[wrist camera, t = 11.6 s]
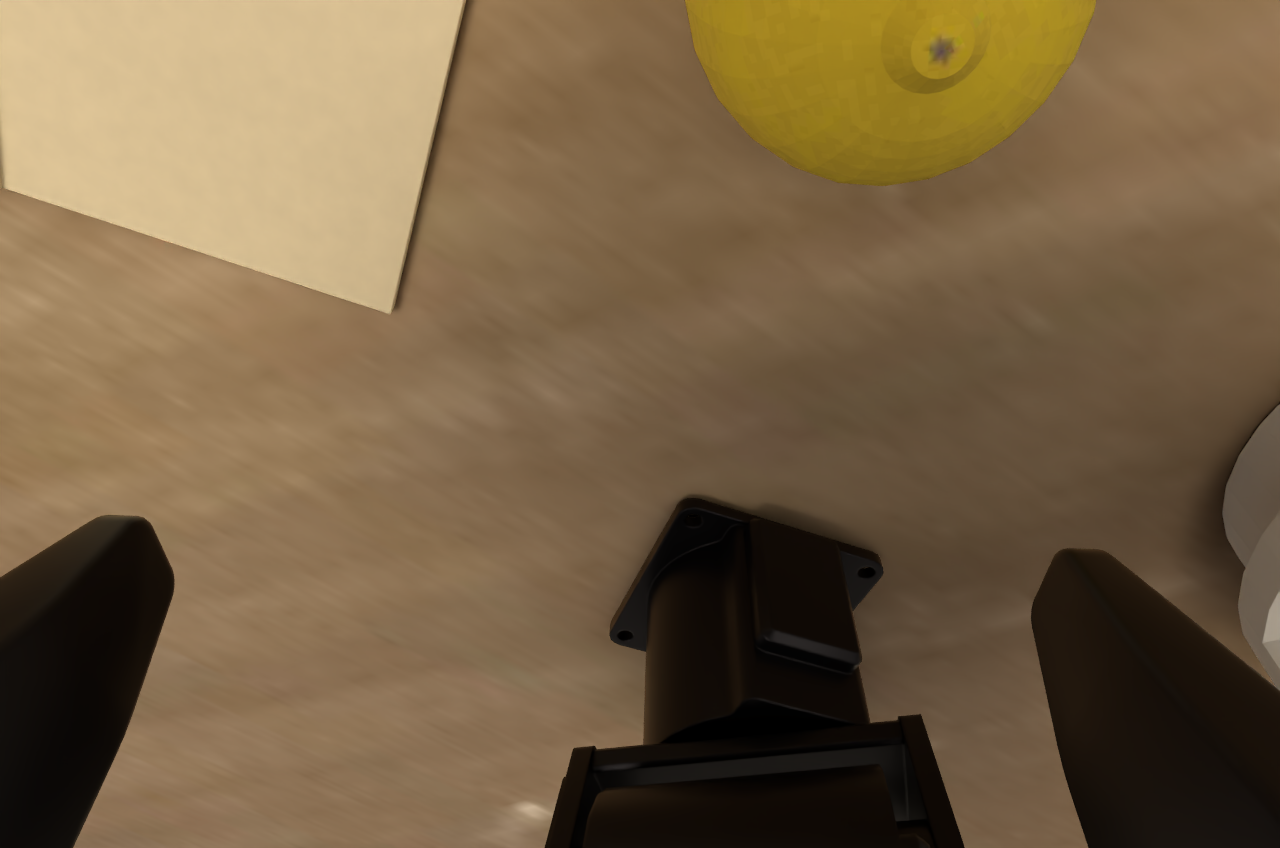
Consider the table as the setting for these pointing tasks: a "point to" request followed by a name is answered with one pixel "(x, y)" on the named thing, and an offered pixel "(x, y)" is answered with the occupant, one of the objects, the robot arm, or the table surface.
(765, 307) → the table surface
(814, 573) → the robot arm
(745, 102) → the lemon
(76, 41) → the wooden plank
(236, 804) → the table surface
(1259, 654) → the flag stand
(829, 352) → the table surface
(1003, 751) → the table surface
